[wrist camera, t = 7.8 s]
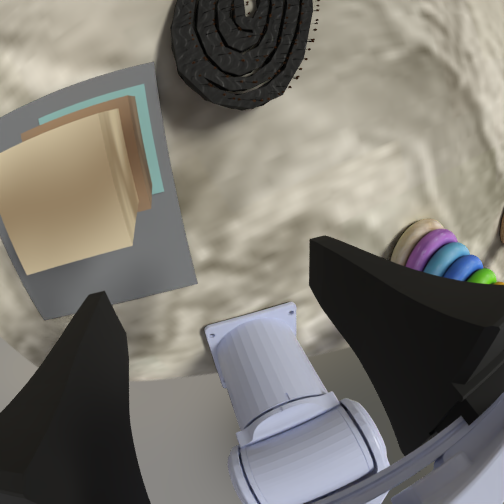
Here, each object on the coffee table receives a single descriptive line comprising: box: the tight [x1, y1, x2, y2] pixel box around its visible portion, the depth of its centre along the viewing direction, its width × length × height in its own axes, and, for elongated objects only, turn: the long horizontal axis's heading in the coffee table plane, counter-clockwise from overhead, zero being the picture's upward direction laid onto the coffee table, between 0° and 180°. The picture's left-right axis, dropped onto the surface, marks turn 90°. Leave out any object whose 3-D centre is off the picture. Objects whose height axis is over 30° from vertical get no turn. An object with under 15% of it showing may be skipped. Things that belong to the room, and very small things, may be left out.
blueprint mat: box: [0, 62, 198, 320], centre depth 16 cm, size 15×13×1 cm
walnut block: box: [21, 95, 152, 212], centre depth 13 cm, size 5×5×4 cm
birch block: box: [0, 109, 139, 275], centre depth 9 cm, size 4×4×4 cm
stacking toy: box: [391, 219, 504, 285], centre depth 20 cm, size 8×8×19 cm
